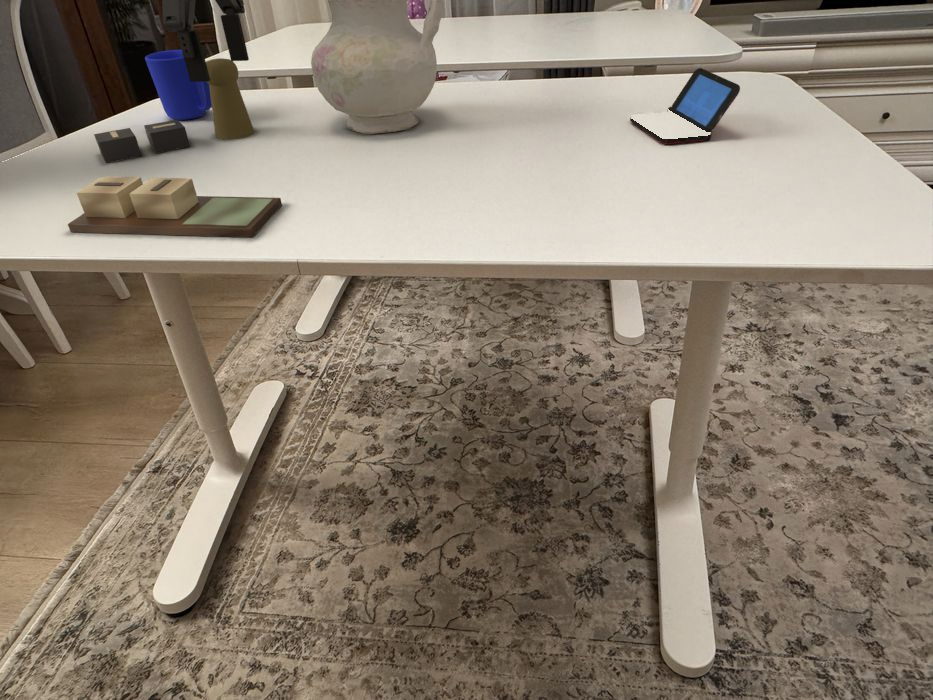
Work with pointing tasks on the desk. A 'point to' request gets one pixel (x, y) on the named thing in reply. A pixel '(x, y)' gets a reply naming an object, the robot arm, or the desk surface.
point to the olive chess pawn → (227, 101)
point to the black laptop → (701, 104)
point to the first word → (126, 144)
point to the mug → (177, 86)
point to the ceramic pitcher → (376, 63)
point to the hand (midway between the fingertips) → (221, 70)
